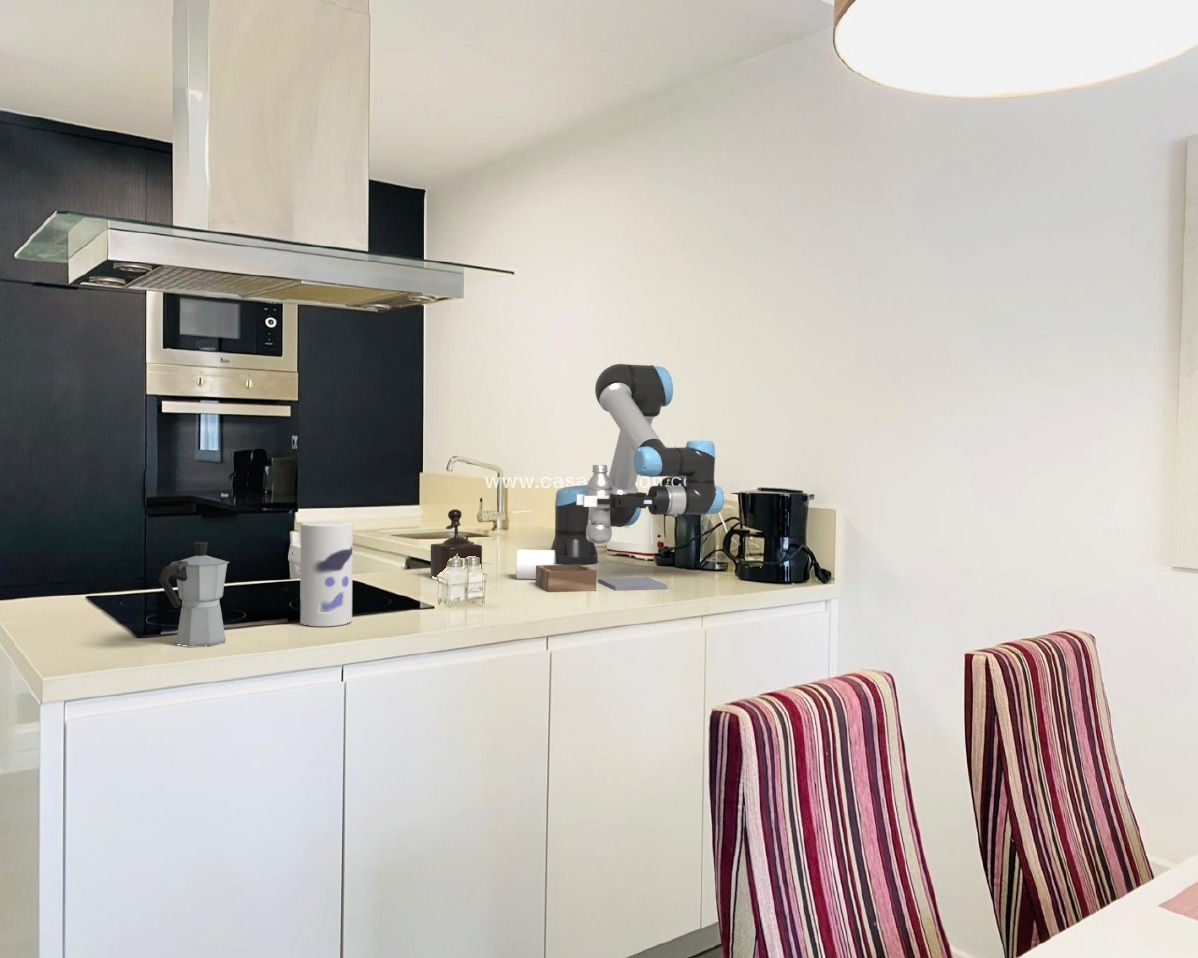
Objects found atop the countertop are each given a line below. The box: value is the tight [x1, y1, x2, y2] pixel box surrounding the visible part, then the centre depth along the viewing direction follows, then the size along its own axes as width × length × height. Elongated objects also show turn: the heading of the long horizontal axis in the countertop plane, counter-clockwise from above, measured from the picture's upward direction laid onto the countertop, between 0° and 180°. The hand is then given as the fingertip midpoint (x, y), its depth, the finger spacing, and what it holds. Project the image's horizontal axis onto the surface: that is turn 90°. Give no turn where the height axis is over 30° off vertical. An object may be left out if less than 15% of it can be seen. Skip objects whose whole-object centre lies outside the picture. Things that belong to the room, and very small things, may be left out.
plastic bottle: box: [586, 464, 613, 545], centre depth 247 cm, size 6×7×20 cm
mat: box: [597, 576, 668, 591], centre depth 251 cm, size 14×14×1 cm
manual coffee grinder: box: [430, 508, 483, 577], centre depth 259 cm, size 16×11×18 cm
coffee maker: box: [158, 541, 230, 647], centre depth 172 cm, size 15×9×18 cm, turn 154°
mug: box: [515, 548, 556, 581], centre depth 262 cm, size 12×10×8 cm
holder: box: [535, 564, 598, 593], centre depth 246 cm, size 12×12×5 cm
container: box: [299, 520, 354, 627], centre depth 194 cm, size 10×10×20 cm
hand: (580, 500), depth 246 cm, fingers closed on plastic bottle, 6 cm apart
